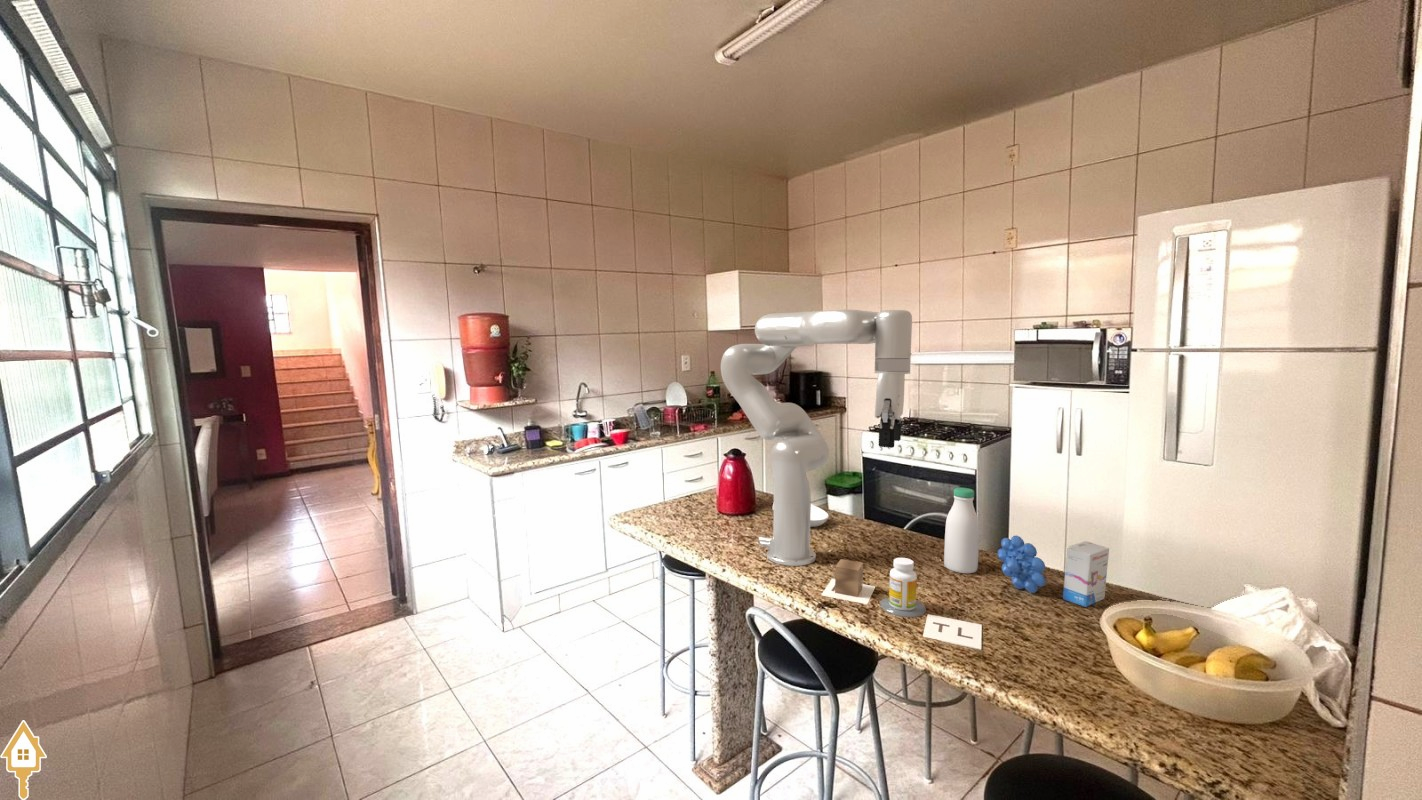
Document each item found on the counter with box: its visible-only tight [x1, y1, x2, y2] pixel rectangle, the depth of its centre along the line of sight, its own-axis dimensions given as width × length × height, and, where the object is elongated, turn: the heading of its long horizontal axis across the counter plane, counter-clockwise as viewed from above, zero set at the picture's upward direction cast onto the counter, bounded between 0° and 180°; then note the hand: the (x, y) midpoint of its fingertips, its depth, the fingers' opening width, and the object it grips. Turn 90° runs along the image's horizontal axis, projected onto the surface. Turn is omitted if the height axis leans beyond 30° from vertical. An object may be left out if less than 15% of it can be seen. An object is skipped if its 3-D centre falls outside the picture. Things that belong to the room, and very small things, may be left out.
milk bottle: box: [943, 487, 980, 574], centre depth 139 cm, size 8×8×20 cm
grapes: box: [996, 535, 1047, 594], centre depth 127 cm, size 12×7×12 cm, turn 25°
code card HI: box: [820, 578, 876, 605], centre depth 126 cm, size 10×10×1 cm
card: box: [922, 613, 983, 651], centre depth 109 cm, size 10×10×1 cm
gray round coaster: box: [880, 596, 927, 618], centre depth 119 cm, size 9×9×1 cm
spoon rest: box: [771, 502, 830, 528], centre depth 180 cm, size 24×12×7 cm, turn 27°
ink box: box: [1062, 540, 1110, 608], centre depth 122 cm, size 9×5×12 cm, turn 122°
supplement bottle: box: [888, 557, 918, 611], centre depth 118 cm, size 5×5×10 cm
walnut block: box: [834, 558, 864, 597], centre depth 126 cm, size 5×5×6 cm
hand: (889, 443), depth 126 cm, fingers open, 9 cm apart
